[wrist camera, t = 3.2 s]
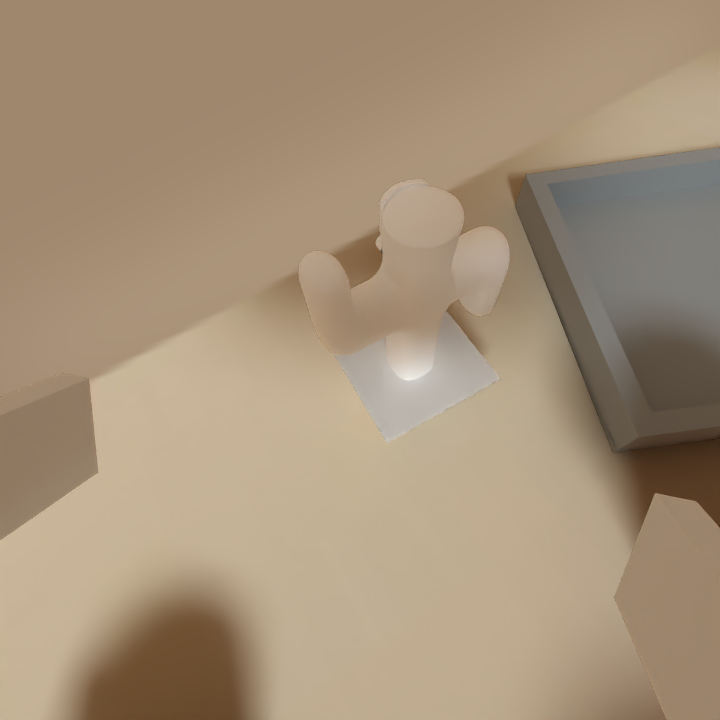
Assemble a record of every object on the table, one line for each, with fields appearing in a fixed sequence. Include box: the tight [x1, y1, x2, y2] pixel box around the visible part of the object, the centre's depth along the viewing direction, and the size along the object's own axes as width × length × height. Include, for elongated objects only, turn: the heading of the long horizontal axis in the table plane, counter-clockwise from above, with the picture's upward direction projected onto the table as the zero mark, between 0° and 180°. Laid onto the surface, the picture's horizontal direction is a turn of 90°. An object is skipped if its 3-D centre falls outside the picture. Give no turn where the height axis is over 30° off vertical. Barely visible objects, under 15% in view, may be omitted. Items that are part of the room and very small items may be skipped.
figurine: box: [298, 179, 510, 443], centre depth 21 cm, size 7×9×15 cm
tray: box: [515, 147, 720, 452], centre depth 28 cm, size 20×20×3 cm
